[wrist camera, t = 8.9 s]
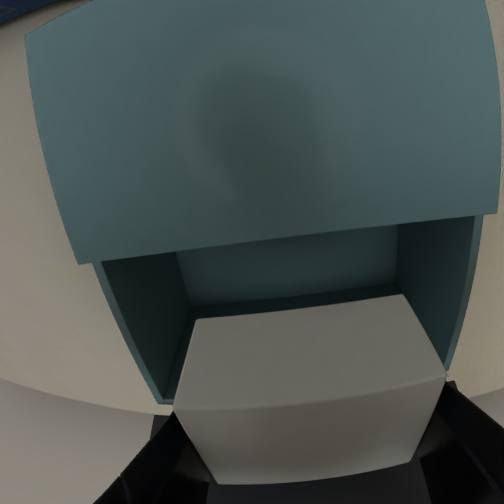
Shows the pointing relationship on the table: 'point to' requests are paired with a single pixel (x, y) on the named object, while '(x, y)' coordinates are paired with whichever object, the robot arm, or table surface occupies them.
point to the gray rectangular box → (308, 391)
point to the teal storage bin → (269, 158)
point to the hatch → (328, 486)
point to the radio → (19, 7)
